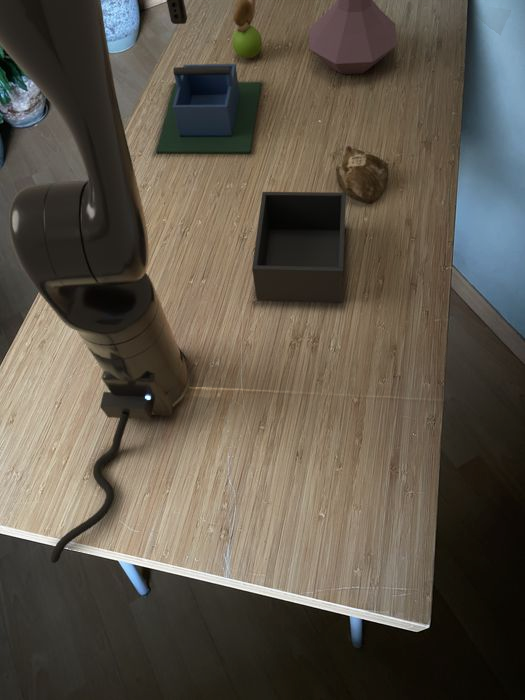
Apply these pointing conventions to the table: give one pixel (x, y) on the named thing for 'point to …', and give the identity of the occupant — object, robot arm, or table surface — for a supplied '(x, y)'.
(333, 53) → the flask
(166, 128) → the green mat
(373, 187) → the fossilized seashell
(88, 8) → the robot arm
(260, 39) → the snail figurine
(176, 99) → the blue bin
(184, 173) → the table surface
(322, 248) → the charcoal bin
